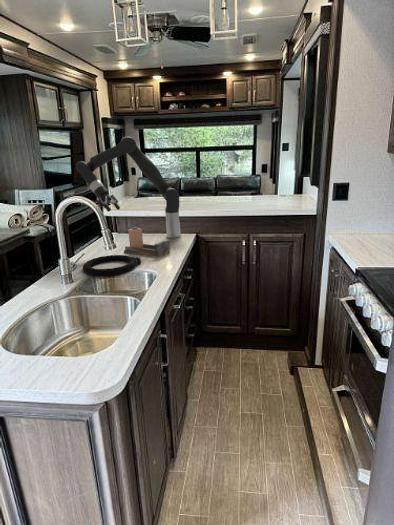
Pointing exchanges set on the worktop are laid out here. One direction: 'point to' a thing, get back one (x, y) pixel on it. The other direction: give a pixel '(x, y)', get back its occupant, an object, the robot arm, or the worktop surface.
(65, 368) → the worktop surface
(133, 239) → the block
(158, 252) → the channel board
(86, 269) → the cable lock
